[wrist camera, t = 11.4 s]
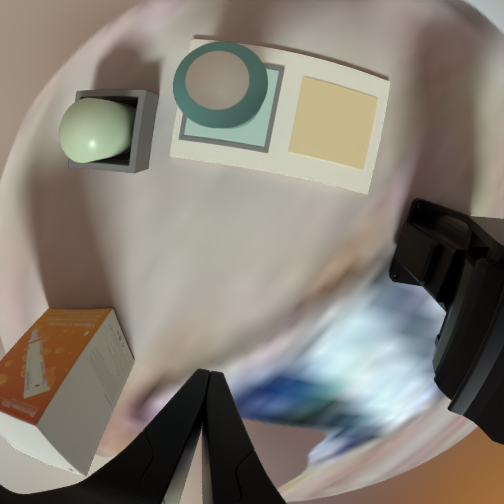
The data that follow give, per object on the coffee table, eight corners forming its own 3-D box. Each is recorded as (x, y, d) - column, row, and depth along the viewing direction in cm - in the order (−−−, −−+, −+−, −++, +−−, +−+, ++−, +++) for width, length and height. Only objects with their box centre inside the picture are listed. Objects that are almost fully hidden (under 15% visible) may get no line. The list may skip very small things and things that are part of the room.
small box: (114, 305, 22) (36, 426, 10) (136, 362, 25) (88, 480, 13) (47, 306, 23) (-31, 396, 11) (71, 357, 25) (15, 451, 13)
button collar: (159, 94, 16) (146, 89, 14) (148, 168, 18) (134, 173, 16) (94, 94, 16) (76, 91, 14) (86, 162, 18) (68, 167, 16)
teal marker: (265, 76, 16) (275, 38, 8) (257, 131, 17) (262, 133, 10) (205, 71, 15) (173, 33, 8) (198, 126, 17) (160, 125, 9)
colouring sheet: (388, 82, 16) (391, 81, 15) (365, 193, 19) (368, 194, 18) (193, 40, 15) (191, 38, 14) (171, 156, 18) (169, 156, 17)
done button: (146, 104, 16) (116, 97, 12) (138, 157, 18) (108, 164, 14) (99, 103, 16) (63, 98, 12) (93, 153, 17) (56, 161, 13)
